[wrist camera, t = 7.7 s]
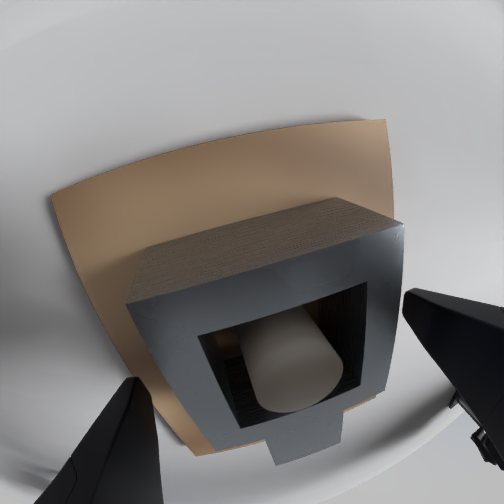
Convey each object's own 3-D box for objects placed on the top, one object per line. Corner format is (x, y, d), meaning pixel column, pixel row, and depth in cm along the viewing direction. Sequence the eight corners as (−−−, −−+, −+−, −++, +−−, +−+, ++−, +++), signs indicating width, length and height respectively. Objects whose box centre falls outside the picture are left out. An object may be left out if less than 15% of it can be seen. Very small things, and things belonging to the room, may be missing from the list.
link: (343, 378, 13) (374, 425, 10) (223, 419, 12) (236, 475, 9) (336, 196, 9) (404, 223, 6) (146, 247, 8) (125, 304, 5)
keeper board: (368, 387, 16) (405, 439, 11) (194, 444, 14) (204, 509, 10) (370, 120, 9) (470, 119, 5) (62, 190, 8) (-25, 229, 3)
